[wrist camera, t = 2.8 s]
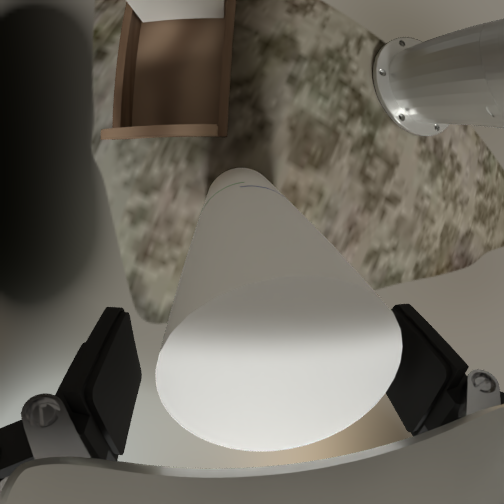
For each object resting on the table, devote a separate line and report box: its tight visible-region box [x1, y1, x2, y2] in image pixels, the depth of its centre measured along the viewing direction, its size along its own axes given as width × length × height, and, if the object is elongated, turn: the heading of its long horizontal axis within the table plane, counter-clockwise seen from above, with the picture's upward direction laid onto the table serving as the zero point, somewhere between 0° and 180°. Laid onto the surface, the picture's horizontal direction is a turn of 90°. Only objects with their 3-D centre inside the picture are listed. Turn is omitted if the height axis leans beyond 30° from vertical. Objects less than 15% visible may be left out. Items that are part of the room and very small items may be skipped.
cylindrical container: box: [155, 168, 403, 451], centre depth 19 cm, size 7×7×25 cm
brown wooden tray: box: [101, 0, 236, 140], centre depth 21 cm, size 11×17×9 cm, turn 177°
